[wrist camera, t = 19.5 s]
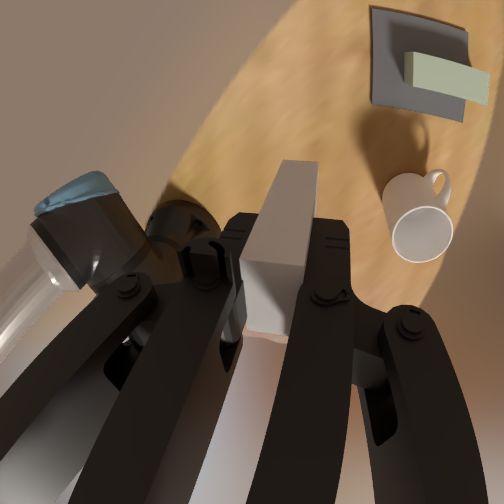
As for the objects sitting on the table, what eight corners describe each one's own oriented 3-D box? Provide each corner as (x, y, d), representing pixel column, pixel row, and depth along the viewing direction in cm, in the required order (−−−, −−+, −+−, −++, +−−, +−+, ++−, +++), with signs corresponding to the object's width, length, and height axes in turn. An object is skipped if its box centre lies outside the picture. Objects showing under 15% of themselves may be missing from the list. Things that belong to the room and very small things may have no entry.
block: (412, 86, 26) (488, 106, 23) (413, 51, 23) (491, 74, 20) (403, 83, 29) (474, 100, 27) (404, 52, 26) (476, 71, 24)
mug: (454, 175, 35) (481, 210, 27) (410, 229, 43) (423, 272, 35) (414, 142, 34) (438, 170, 26) (370, 202, 42) (378, 243, 34)
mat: (371, 103, 33) (371, 104, 32) (371, 8, 24) (371, 8, 24) (461, 121, 30) (462, 122, 29) (466, 32, 21) (468, 32, 21)
